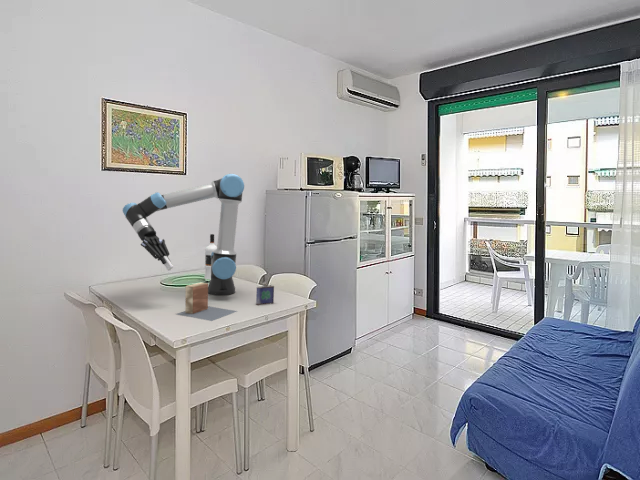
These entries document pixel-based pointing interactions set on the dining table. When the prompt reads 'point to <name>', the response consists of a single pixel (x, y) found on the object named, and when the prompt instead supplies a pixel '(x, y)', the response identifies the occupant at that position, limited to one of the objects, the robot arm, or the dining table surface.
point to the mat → (209, 313)
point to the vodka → (209, 257)
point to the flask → (265, 294)
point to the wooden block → (196, 298)
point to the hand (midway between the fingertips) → (170, 268)
